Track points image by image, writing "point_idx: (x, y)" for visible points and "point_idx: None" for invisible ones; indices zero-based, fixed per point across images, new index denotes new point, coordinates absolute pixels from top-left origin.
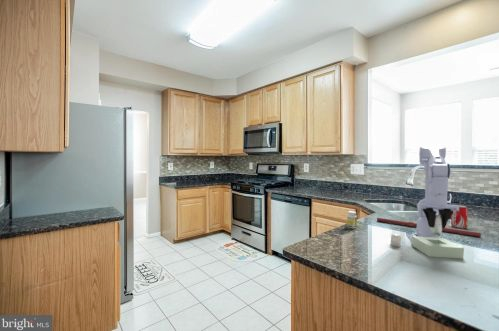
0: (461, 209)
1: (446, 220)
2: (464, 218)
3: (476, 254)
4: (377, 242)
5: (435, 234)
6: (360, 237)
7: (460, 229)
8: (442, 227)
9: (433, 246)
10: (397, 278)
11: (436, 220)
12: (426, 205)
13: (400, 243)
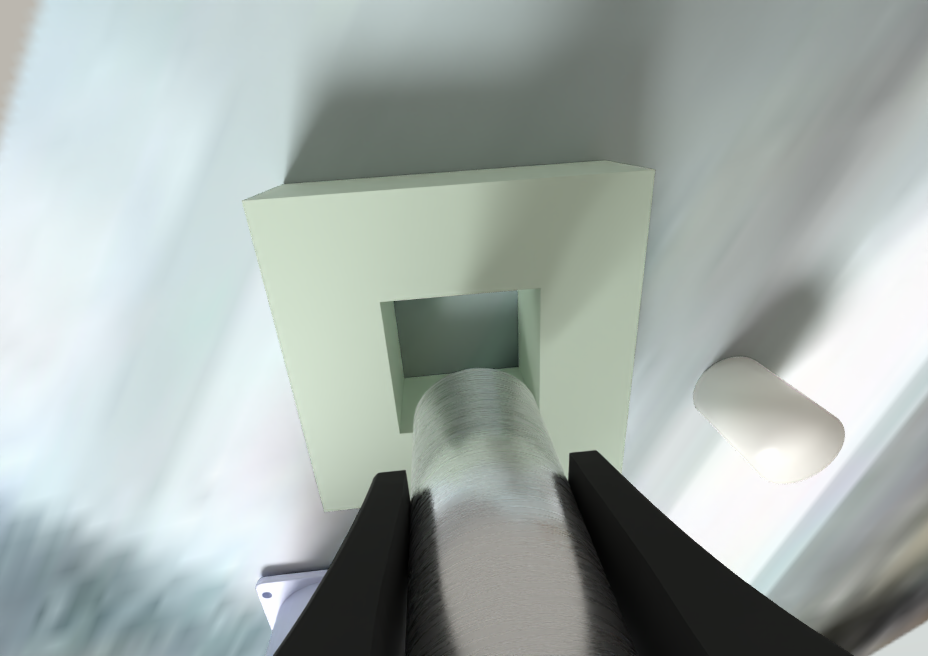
0: None
1: (341, 605)
2: None
3: (101, 340)
4: (845, 410)
5: (515, 380)
6: (903, 485)
7: None
8: (406, 489)
9: (606, 172)
10: None
11: (577, 573)
12: None
13: (721, 384)
